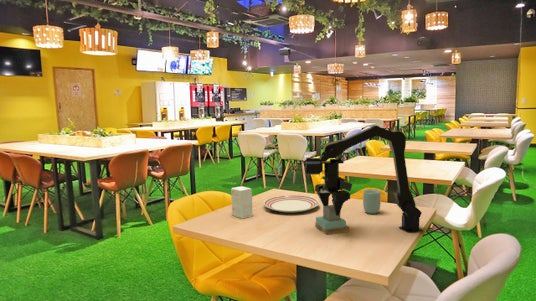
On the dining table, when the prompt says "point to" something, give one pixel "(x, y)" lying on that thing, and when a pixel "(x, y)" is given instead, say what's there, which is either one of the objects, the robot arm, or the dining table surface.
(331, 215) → the grey cube
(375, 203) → the cup
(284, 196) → the dinner plate
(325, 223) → the tower top
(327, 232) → the tower bottom
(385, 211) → the dining table surface
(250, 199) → the small box
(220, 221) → the dining table surface
